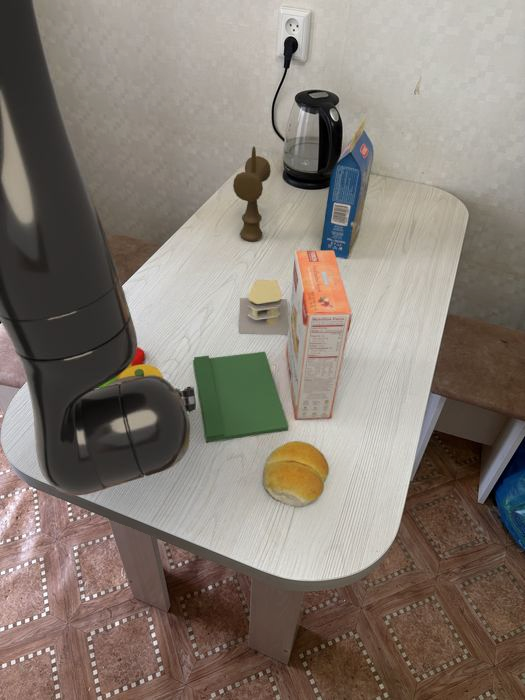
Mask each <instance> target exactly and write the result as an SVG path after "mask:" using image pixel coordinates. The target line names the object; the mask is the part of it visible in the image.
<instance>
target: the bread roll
mask: <svg viewBox="0 0 525 700" xmlns="http://www.w3.org/2000/svg"><path fill="white" fill-rule="evenodd" d="M329 471H330V467H329V463H328V461H327V459H326V457H325V456H324V453H322V452H321V451H320V450H319V449H318V448H317V447H315V446H314V445H312V444H310V443H308V442H304V441H299V440H295V441H294V440H293V441H289V442H286V443H284V444H282V445H280V446H278V447H277V448H275V450H273V451H272V452H271V453H270V454H269V456H268V457H267V459H266V462H265V466H264V469H263V473H262V481H263V486H264V488H265V490H266V491H267V493H268V494H269V495H270V496H271V497H272V498H273V499H275V500H277V501H279V502H281V503H283V504H285V505H289V506H293V507H297V508H298V507H299V508H302V507H305V506H306V505H308V504H311V503H313V502H315V501H316V500H318V499H319V497H320V496H321V495H322V494H323V492H324V487H325V486H324V482H325V481H326V479H327V477H328V475H329Z"/></svg>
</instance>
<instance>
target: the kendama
mask: <svg viewBox="0 0 525 700" xmlns="http://www.w3.org/2000/svg"><path fill="white" fill-rule="evenodd" d="M256 152H257V150H256V147H255V146H252V149H251V157H248V158H247V160H246V162H245V165H244V171H242V172H240V173H237V174H236V176H235V177H234V180H233V183H232V188H233V192H234V194H235V195H236V197H237V198H239V199H240V200H242V201H244V202H247V203H246V209H245V212H244V214H242V216H241V220H242V222H243V226H242V229H241V230H240V232H239V237H240V238H241V239H242V240H245V241H248V242H256V241H257V242H258V241H259V240H260V239H262V238H263V235H264V234H263V231H262V228H261V225H260V223H261V221H262V220H263V219H262V218H263V216H262V214H261V213H260V212H259V205H258V200H259V199H260V197H261V196H262V194H263V190H264V186H263V182H266V181H268V179H269V178H270V176H271V172H272V170H271V165H270V162H269V160H267V159H266V158H265V157H262V156H259V155H257V153H256Z"/></svg>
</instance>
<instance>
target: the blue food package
mask: <svg viewBox="0 0 525 700" xmlns="http://www.w3.org/2000/svg"><path fill="white" fill-rule="evenodd" d="M366 119H367V115H365V116H364V118H363V120H362V121H361V122H360V124H359V126H358V127H357V129H356V131H355V133H354V134H353V136H352V139H351V140H350V141H349V142H348V144H347V146H346V147H345V148H344V150H342V152H341V154H340V155H339V158H338V160H337V162H336V163H335V165H334V167H333V169H332V171H331V174H330V180H329V184H328V185H329V186H328V193H327V200H326V208H325V213H324V214H325V215H324V222H323V229H322V234H321V235H322V237H321V242H320V250H319V251H324V250H333V251H334V253H335V257H336V258H341V259H342V258H343V259H348V257H349V255H350V254H351V252H352V250H353V247H354V245H355V242H356V240H357V238H358V235H359V232H360V229H361V223H362V219H363V213H364V208H365V203H366V198H367V192H368V187H369V182H370V177H371V174H372V173H371V172H372V166H373V163H374V152H375V151H374V146H373V143H372V140H371V139H370V137H369V136H368V133H367V132H366V130H365V125H366Z"/></svg>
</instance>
